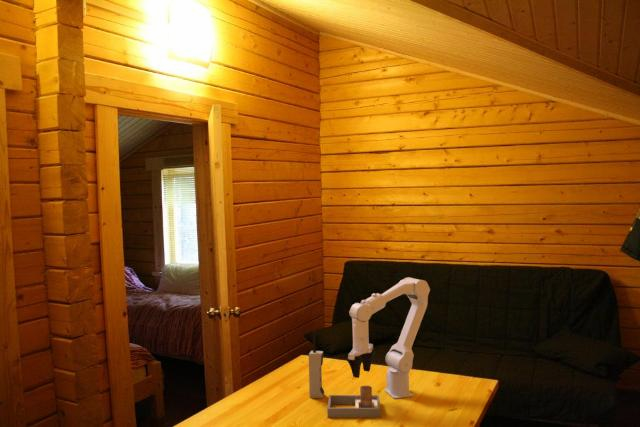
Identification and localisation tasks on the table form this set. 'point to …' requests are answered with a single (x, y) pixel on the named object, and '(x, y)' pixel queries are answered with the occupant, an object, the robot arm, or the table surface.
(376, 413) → the grey tray
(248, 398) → the table surface
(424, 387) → the table surface
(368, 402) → the walnut peg
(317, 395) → the vintage mobile phone
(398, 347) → the robot arm
